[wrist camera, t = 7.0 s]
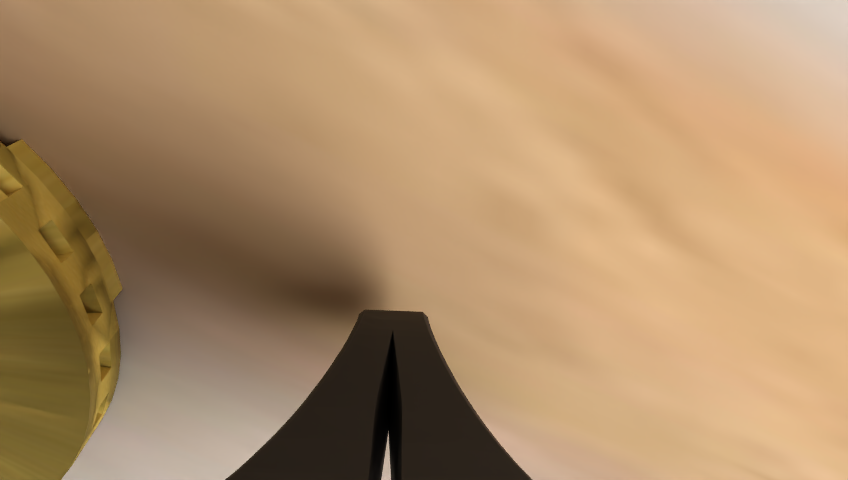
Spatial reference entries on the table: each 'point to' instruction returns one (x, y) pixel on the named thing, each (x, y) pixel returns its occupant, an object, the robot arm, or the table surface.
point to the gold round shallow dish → (51, 321)
